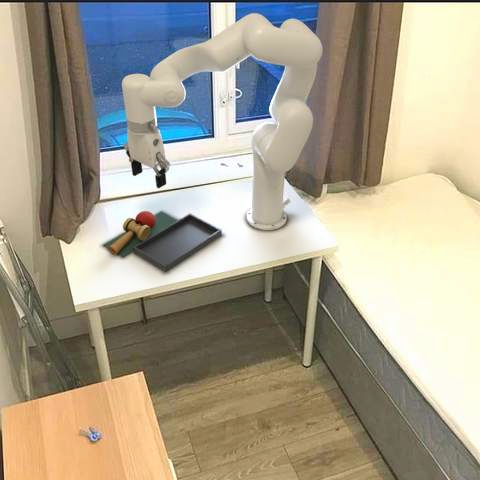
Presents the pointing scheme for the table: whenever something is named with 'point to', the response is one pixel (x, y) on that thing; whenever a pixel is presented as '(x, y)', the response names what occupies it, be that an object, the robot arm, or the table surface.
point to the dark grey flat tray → (177, 242)
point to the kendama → (134, 230)
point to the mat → (161, 223)
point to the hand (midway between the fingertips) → (149, 179)
